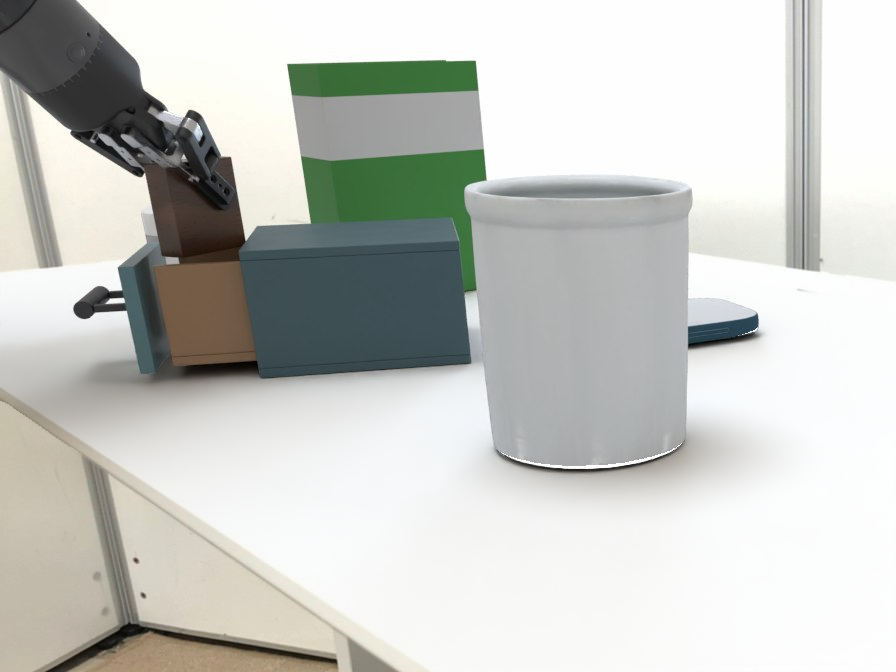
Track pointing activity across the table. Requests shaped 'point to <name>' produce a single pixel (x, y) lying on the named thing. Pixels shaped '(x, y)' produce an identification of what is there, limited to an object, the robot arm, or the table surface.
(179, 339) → the drawer
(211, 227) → the walnut board
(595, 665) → the table surface
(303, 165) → the green cereal box
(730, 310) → the external hard drive
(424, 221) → the cabinet
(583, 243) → the utensil holder
